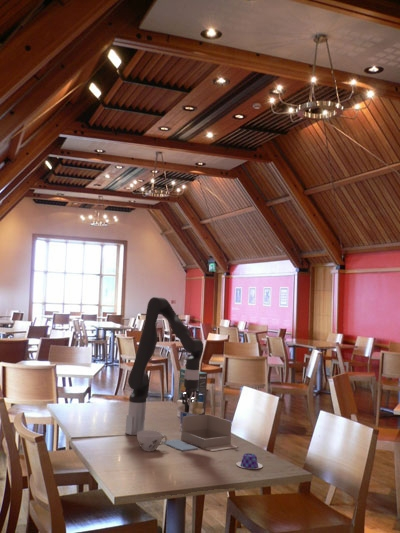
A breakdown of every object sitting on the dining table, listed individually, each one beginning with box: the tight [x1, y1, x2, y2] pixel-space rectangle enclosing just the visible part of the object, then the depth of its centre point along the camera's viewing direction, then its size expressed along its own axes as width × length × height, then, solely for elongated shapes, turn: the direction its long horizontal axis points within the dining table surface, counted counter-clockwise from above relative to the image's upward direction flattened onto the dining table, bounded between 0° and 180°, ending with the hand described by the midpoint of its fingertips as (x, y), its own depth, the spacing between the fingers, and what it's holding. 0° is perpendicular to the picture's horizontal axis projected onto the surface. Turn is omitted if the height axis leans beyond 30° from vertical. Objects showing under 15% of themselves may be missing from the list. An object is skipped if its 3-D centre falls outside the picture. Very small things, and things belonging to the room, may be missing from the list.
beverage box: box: [179, 392, 203, 435], centre depth 312 cm, size 7×11×22 cm, turn 104°
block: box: [175, 399, 203, 415], centre depth 287 cm, size 13×5×6 cm, turn 59°
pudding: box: [236, 452, 263, 470], centre depth 256 cm, size 12×12×5 cm
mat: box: [160, 439, 199, 452], centre depth 283 cm, size 10×18×1 cm, turn 38°
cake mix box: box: [176, 368, 208, 418], centre depth 349 cm, size 22×6×30 cm, turn 34°
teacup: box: [136, 429, 168, 452], centre depth 273 cm, size 15×12×8 cm
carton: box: [180, 413, 239, 452], centre depth 291 cm, size 18×26×12 cm
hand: (189, 411), depth 287 cm, fingers closed on block, 4 cm apart
